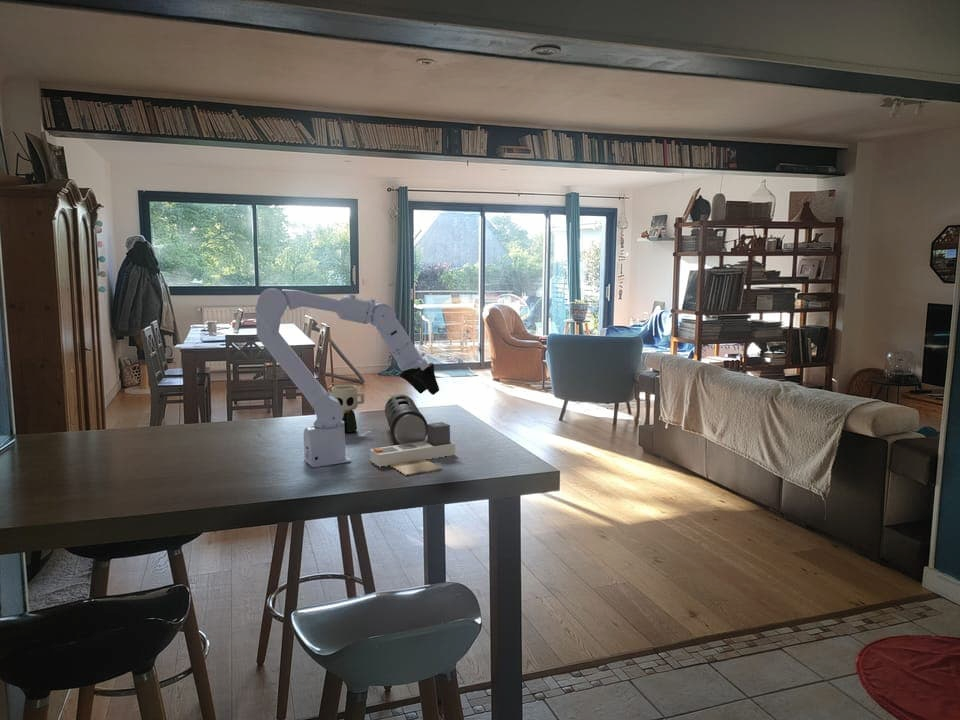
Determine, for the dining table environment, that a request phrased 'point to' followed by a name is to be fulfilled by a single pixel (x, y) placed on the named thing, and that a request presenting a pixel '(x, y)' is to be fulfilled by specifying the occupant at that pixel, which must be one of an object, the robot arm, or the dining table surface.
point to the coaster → (415, 467)
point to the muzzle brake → (405, 420)
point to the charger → (438, 434)
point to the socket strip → (409, 453)
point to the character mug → (348, 404)
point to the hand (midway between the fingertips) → (429, 392)
